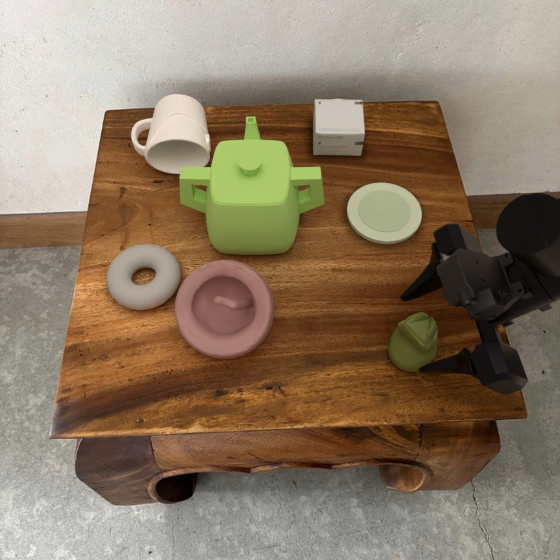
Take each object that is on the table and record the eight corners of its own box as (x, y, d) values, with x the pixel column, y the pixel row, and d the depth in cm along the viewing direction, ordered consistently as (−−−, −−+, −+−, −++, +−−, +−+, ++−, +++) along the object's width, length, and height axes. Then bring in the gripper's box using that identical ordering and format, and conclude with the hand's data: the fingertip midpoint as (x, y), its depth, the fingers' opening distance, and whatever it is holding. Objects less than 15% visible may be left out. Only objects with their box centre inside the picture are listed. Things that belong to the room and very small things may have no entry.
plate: (422, 191, 84) (424, 187, 83) (418, 249, 78) (419, 246, 77) (351, 181, 85) (351, 177, 84) (341, 238, 79) (342, 234, 79)
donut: (190, 302, 74) (173, 244, 79) (186, 290, 71) (169, 230, 76) (116, 324, 72) (104, 263, 77) (109, 312, 70) (97, 249, 74)
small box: (312, 156, 88) (314, 132, 83) (312, 122, 92) (314, 97, 87) (361, 157, 88) (365, 133, 83) (359, 122, 92) (363, 98, 87)
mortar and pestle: (172, 365, 69) (154, 325, 59) (196, 285, 75) (183, 236, 66) (266, 380, 68) (263, 342, 58) (282, 298, 74) (282, 250, 64)
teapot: (193, 164, 87) (179, 99, 76) (319, 164, 87) (324, 99, 76) (181, 262, 77) (164, 203, 66) (323, 262, 77) (330, 203, 66)
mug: (212, 131, 91) (207, 92, 84) (212, 173, 86) (206, 136, 79) (139, 134, 90) (128, 95, 84) (135, 177, 86) (123, 140, 79)
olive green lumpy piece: (436, 360, 69) (458, 324, 61) (409, 386, 68) (427, 354, 59) (403, 330, 72) (420, 292, 63) (375, 355, 70) (388, 319, 61)
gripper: (477, 170, 54) (354, 244, 63) (544, 341, 45) (387, 400, 53) (523, 213, 61) (407, 274, 70) (590, 368, 52) (445, 416, 61)
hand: (411, 333), depth 63 cm, fingers open, 9 cm apart
